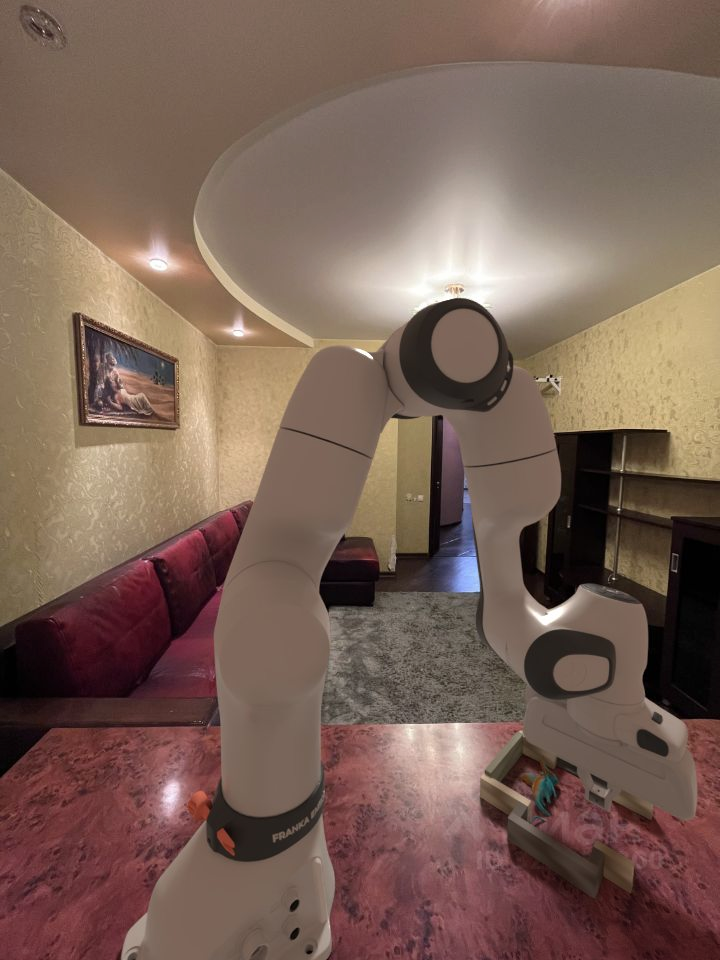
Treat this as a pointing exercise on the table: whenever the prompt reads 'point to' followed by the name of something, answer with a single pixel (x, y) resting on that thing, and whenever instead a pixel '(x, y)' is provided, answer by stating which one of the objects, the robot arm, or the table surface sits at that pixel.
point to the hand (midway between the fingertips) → (598, 803)
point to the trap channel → (541, 844)
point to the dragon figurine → (541, 786)
